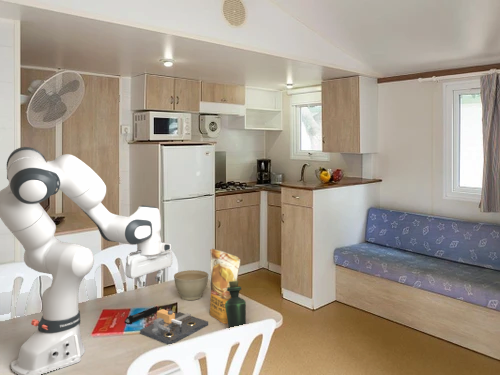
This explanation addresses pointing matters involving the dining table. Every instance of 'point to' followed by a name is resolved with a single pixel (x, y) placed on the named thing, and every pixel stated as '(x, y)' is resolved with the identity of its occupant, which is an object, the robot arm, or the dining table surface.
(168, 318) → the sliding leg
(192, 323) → the bolt plate
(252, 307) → the dining table surface
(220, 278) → the pancake mix bag
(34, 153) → the robot arm
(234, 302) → the potion bottle
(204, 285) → the planter bowl
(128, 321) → the electric trimmer
